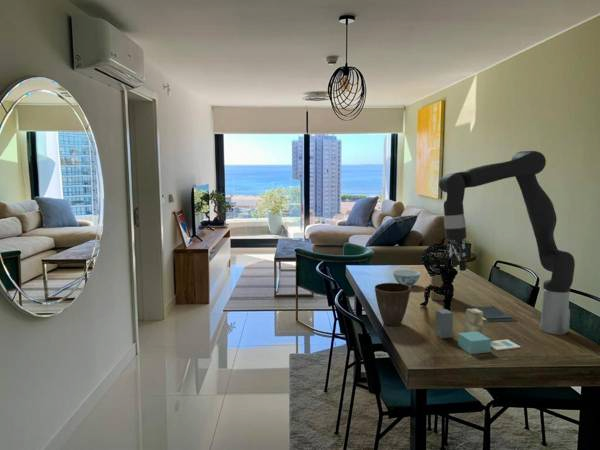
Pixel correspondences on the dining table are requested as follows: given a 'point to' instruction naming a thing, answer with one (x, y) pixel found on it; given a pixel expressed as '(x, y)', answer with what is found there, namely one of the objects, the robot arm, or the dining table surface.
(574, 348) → the dining table surface
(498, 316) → the dark blue-grey book
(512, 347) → the card
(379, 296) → the plant pot
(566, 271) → the robot arm
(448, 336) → the charcoal block
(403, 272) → the chinaware
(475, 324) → the maple block
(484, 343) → the teal base block
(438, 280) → the wooden block
